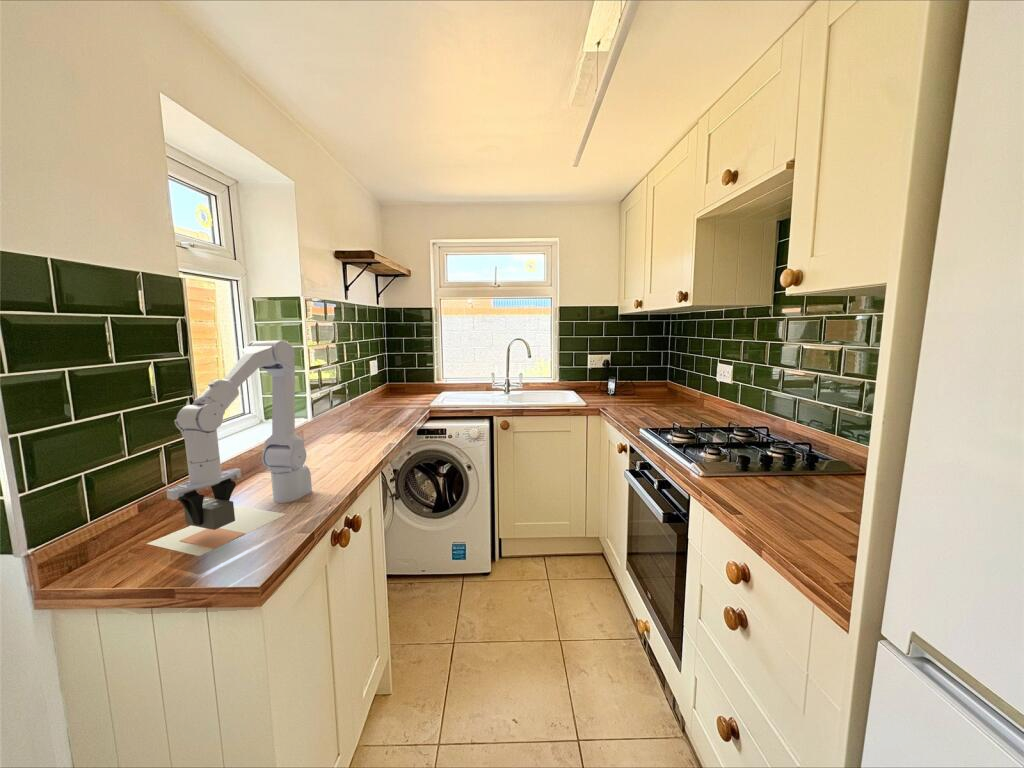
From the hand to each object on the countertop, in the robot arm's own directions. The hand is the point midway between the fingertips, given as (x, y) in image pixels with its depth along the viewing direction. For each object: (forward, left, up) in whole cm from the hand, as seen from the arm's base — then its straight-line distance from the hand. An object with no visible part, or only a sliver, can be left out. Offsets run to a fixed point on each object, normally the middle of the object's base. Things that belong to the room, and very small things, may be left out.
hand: (210, 519), depth 93 cm
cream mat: (-4, -3, -5) cm, 7 cm away
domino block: (0, 0, -1) cm, 1 cm away
